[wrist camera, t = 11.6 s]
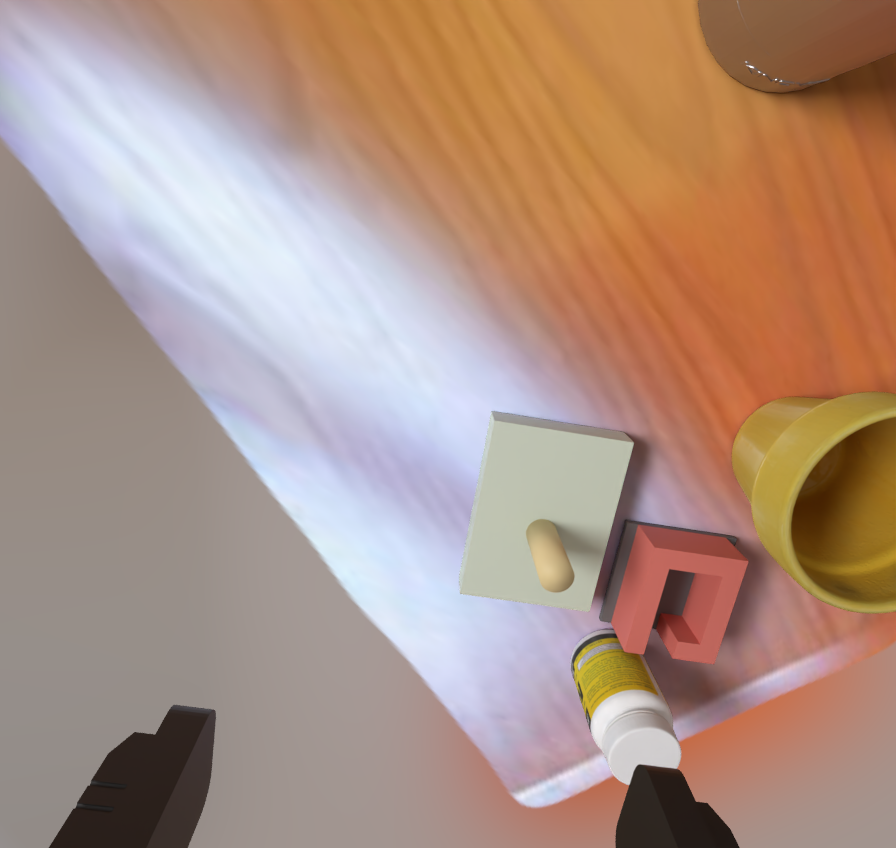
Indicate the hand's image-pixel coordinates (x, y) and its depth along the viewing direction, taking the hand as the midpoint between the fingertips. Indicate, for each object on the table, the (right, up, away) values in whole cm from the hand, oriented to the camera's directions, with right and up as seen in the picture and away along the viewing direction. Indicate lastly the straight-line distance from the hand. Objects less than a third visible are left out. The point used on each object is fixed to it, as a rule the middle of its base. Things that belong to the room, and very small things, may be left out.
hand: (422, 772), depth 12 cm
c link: (+14, -3, +28) cm, 32 cm away
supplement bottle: (+11, -9, +30) cm, 33 cm away
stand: (+6, +1, +27) cm, 28 cm away
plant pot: (+21, +5, +26) cm, 34 cm away
